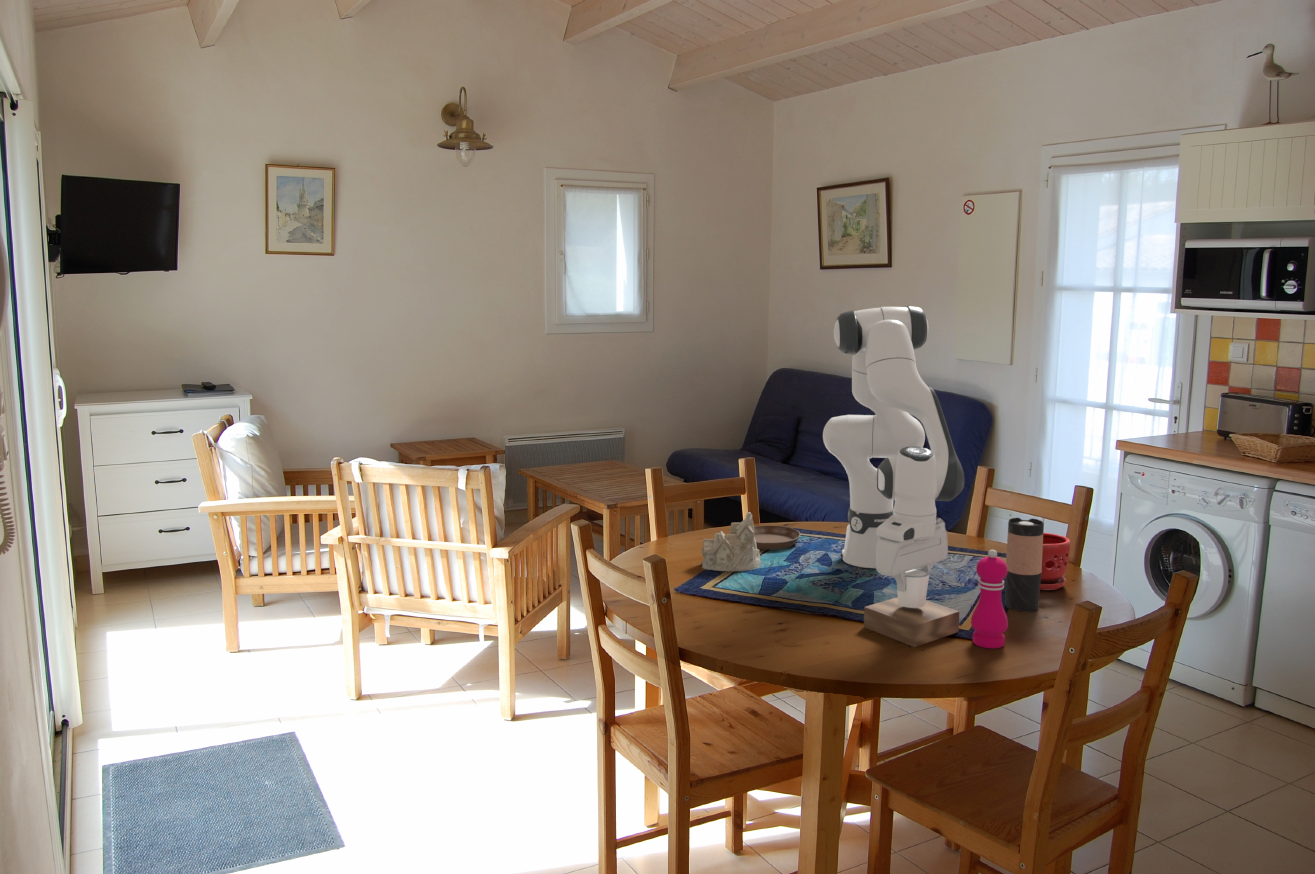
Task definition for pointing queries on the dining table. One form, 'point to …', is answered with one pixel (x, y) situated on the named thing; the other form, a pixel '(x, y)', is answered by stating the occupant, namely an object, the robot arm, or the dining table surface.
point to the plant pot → (1054, 561)
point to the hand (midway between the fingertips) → (912, 587)
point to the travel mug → (1023, 564)
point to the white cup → (914, 589)
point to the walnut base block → (911, 621)
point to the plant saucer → (775, 537)
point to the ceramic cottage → (732, 549)
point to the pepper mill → (990, 603)
